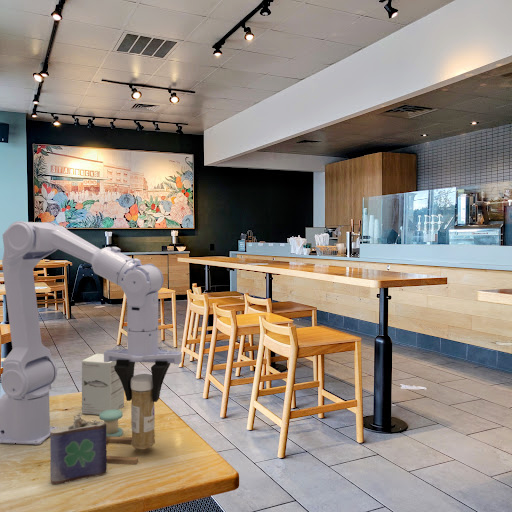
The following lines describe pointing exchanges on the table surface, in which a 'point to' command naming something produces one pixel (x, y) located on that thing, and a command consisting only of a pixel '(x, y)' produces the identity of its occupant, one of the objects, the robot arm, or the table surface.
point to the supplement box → (100, 386)
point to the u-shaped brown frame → (120, 458)
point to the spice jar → (142, 411)
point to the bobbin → (112, 422)
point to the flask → (78, 451)
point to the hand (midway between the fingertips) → (142, 399)
